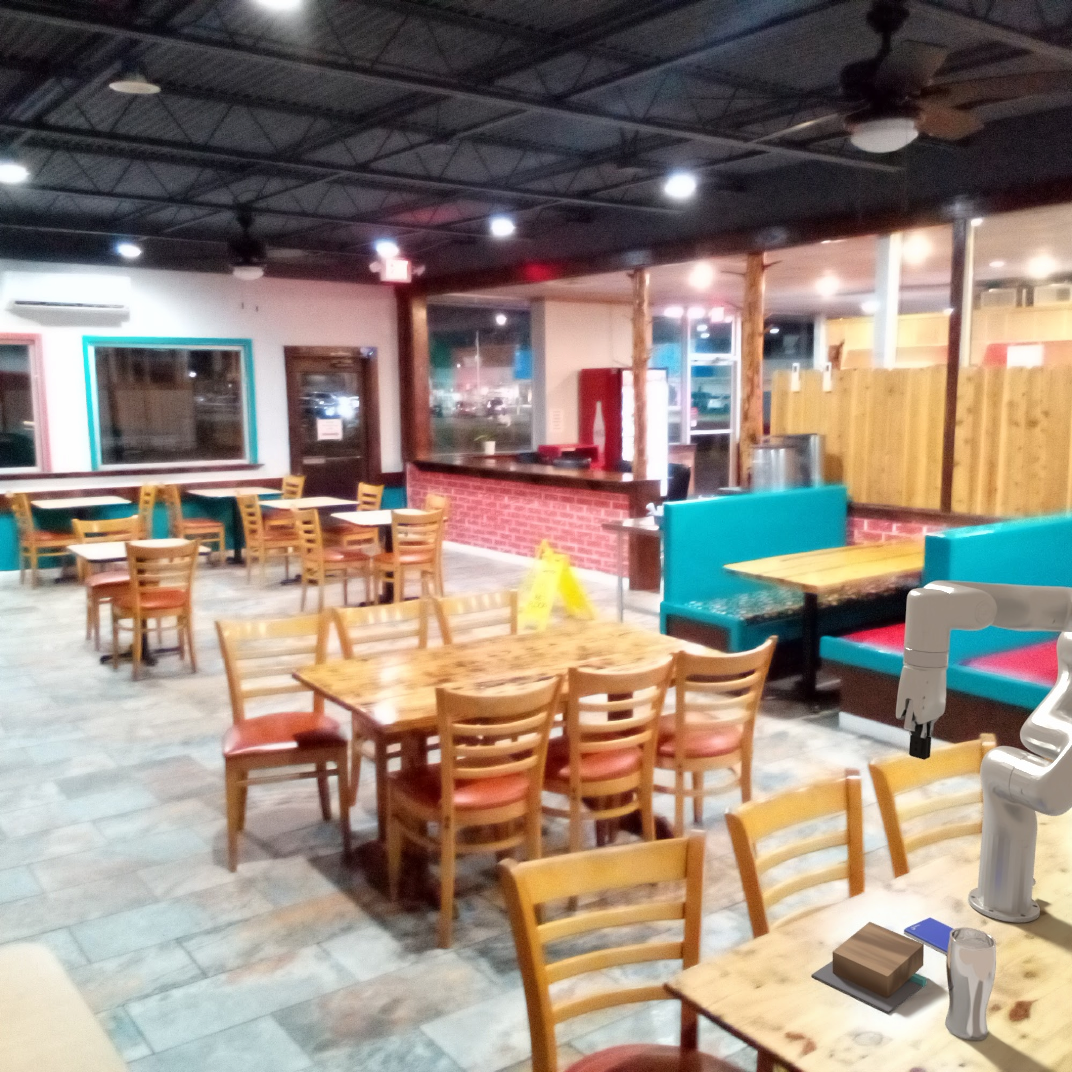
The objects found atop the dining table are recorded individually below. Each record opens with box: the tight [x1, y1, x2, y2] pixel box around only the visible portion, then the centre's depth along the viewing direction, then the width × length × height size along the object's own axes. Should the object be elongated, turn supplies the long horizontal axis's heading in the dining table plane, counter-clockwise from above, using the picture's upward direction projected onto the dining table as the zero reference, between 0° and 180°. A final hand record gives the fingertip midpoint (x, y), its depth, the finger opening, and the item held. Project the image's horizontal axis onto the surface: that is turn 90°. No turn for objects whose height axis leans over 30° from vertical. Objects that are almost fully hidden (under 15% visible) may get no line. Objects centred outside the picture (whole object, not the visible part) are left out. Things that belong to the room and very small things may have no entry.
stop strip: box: [908, 972, 928, 988], centre depth 173 cm, size 1×14×1 cm, turn 42°
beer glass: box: [944, 926, 997, 1042], centre depth 156 cm, size 7×7×15 cm
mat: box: [811, 960, 923, 1015], centre depth 169 cm, size 11×14×1 cm
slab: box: [832, 921, 925, 999], centre depth 171 cm, size 4×10×12 cm
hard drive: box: [903, 917, 954, 956], centre depth 182 cm, size 2×8×12 cm
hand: (919, 756), depth 182 cm, fingers closed
